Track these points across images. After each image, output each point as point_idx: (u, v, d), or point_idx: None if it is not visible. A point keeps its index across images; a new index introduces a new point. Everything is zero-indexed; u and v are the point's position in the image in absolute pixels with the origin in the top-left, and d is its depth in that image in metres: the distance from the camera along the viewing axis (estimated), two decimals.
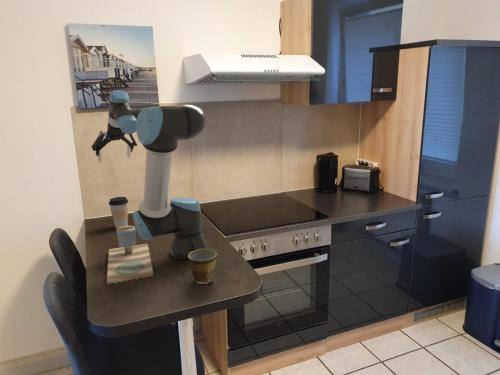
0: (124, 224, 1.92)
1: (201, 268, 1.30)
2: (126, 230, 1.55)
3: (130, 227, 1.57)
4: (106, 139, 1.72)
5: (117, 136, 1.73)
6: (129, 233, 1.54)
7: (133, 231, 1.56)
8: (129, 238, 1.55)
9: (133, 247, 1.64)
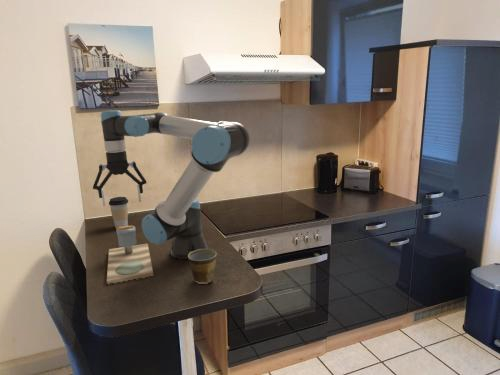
0: (124, 224, 1.92)
1: (201, 268, 1.30)
2: (126, 230, 1.55)
3: (130, 227, 1.57)
4: (107, 174, 1.50)
5: (119, 168, 1.50)
6: (129, 233, 1.54)
7: (133, 231, 1.56)
8: (129, 238, 1.55)
9: (133, 247, 1.64)
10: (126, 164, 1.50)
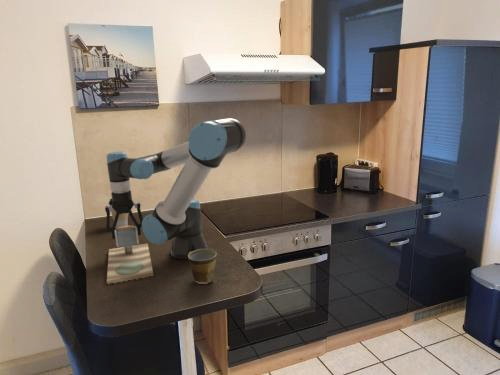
0: (124, 224, 1.92)
1: (201, 268, 1.30)
2: (126, 230, 1.55)
3: (130, 227, 1.57)
4: (115, 215, 1.54)
5: (123, 207, 1.53)
6: (129, 233, 1.54)
7: (133, 231, 1.56)
8: (129, 238, 1.55)
9: (133, 247, 1.64)
10: (131, 203, 1.54)
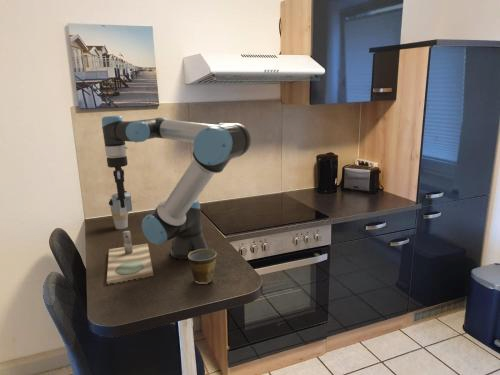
0: (124, 224, 1.92)
1: (201, 268, 1.30)
2: (115, 195, 1.52)
3: None
4: None
5: None
6: (112, 199, 1.51)
7: (115, 199, 1.50)
8: None
9: (133, 247, 1.64)
10: (115, 172, 1.47)
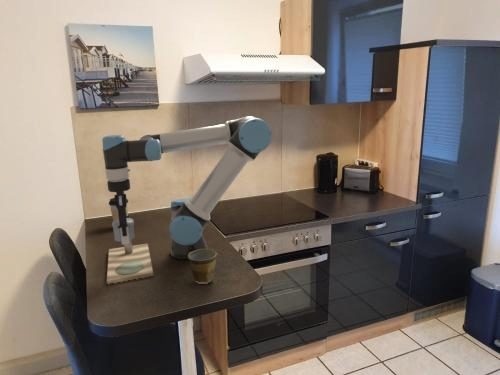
0: None
1: (201, 268, 1.30)
2: (116, 222, 1.39)
3: None
4: None
5: (117, 197, 1.37)
6: (113, 226, 1.38)
7: (116, 226, 1.37)
8: None
9: (133, 247, 1.64)
10: (116, 197, 1.34)
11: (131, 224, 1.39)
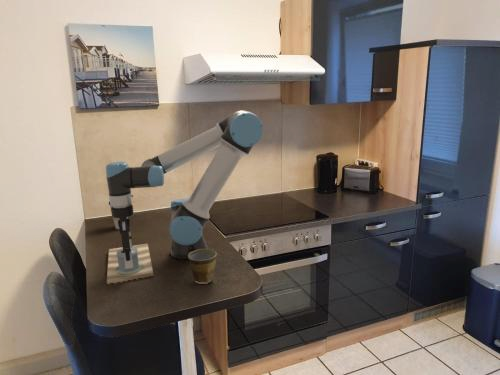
0: None
1: (201, 268, 1.30)
2: (120, 252, 1.42)
3: None
4: None
5: None
6: (117, 257, 1.41)
7: (120, 257, 1.40)
8: (118, 262, 1.41)
9: (133, 247, 1.64)
10: (120, 222, 1.36)
11: (135, 254, 1.42)
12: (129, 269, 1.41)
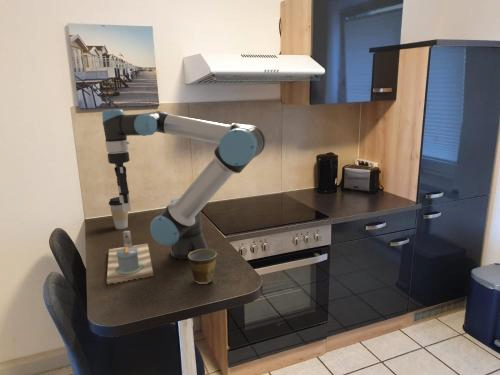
0: (124, 224, 1.92)
1: (201, 268, 1.30)
2: (120, 252, 1.42)
3: (125, 252, 1.41)
4: None
5: None
6: (117, 257, 1.41)
7: (120, 257, 1.40)
8: (118, 262, 1.41)
9: (133, 247, 1.64)
10: (117, 168, 1.40)
11: (135, 254, 1.42)
12: (129, 269, 1.41)
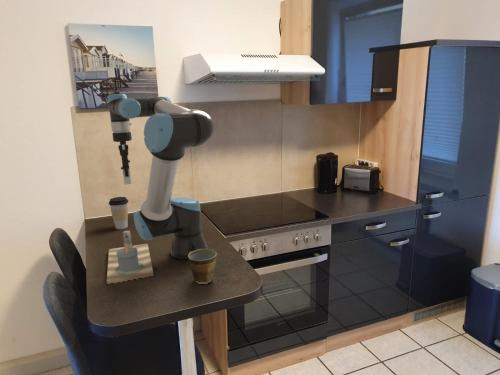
0: (124, 224, 1.92)
1: (201, 268, 1.30)
2: (120, 252, 1.42)
3: (125, 252, 1.41)
4: None
5: None
6: (117, 257, 1.41)
7: (120, 257, 1.40)
8: (118, 262, 1.41)
9: (133, 247, 1.64)
10: (120, 145, 1.60)
11: (135, 254, 1.42)
12: (129, 269, 1.41)
